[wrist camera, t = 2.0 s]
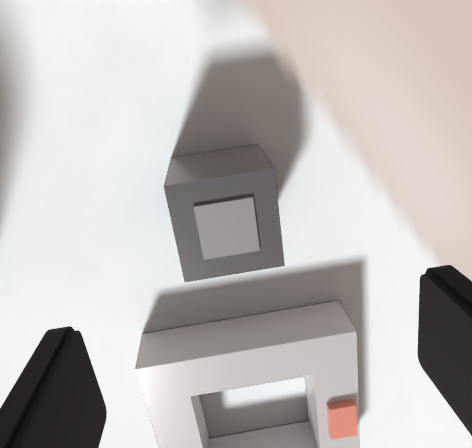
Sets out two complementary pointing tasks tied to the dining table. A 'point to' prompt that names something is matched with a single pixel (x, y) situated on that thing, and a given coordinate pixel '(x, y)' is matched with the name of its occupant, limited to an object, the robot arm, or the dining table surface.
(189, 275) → the plug
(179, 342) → the socket plate
